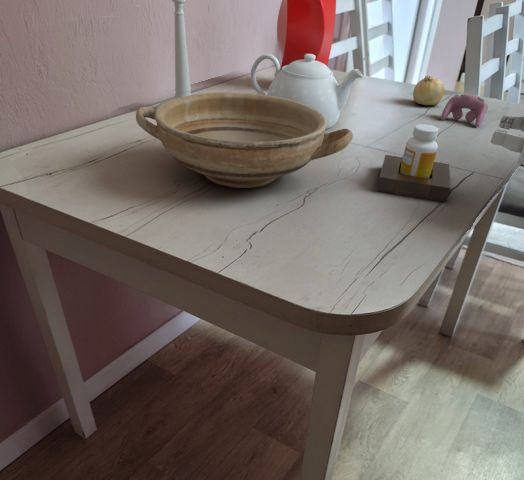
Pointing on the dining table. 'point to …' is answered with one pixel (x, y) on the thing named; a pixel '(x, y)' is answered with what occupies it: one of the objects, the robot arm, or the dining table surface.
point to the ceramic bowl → (241, 136)
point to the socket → (414, 181)
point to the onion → (428, 91)
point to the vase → (305, 29)
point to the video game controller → (468, 102)
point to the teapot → (309, 85)
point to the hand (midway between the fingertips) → (496, 128)
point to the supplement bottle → (420, 152)
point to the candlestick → (180, 55)
